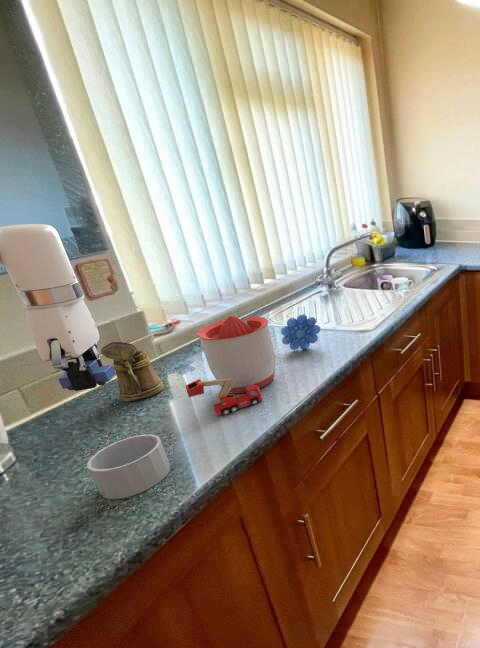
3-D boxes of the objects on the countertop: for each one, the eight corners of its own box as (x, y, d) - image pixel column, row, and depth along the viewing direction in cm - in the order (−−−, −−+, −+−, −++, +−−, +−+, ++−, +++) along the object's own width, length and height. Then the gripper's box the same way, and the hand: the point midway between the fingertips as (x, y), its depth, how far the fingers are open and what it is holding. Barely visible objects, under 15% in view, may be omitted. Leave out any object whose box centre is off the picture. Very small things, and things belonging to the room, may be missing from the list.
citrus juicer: (282, 362, 122) (266, 300, 115) (281, 389, 108) (264, 319, 101) (220, 374, 116) (200, 309, 108) (211, 404, 101) (187, 331, 94)
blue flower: (325, 341, 137) (318, 308, 132) (323, 349, 131) (316, 315, 126) (287, 346, 133) (279, 312, 129) (283, 355, 127) (275, 319, 123)
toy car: (64, 392, 76) (54, 371, 75) (73, 383, 79) (64, 363, 78) (110, 384, 79) (101, 364, 77) (117, 376, 82) (109, 357, 80)
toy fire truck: (264, 401, 102) (255, 367, 99) (198, 424, 93) (186, 388, 90) (260, 396, 105) (251, 363, 101) (196, 418, 96) (183, 383, 92)
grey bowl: (89, 506, 71) (74, 477, 69) (115, 469, 80) (103, 442, 78) (160, 489, 75) (148, 461, 73) (178, 455, 84) (168, 429, 81)
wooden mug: (114, 414, 98) (85, 347, 91) (123, 390, 108) (97, 329, 101) (161, 402, 103) (136, 338, 96) (165, 380, 113) (143, 321, 106)
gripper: (50, 285, 78) (87, 369, 85) (-10, 312, 64) (40, 410, 71) (100, 281, 81) (132, 362, 88) (54, 305, 67) (96, 400, 73)
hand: (91, 382), depth 79 cm, fingers closed on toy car, 3 cm apart
